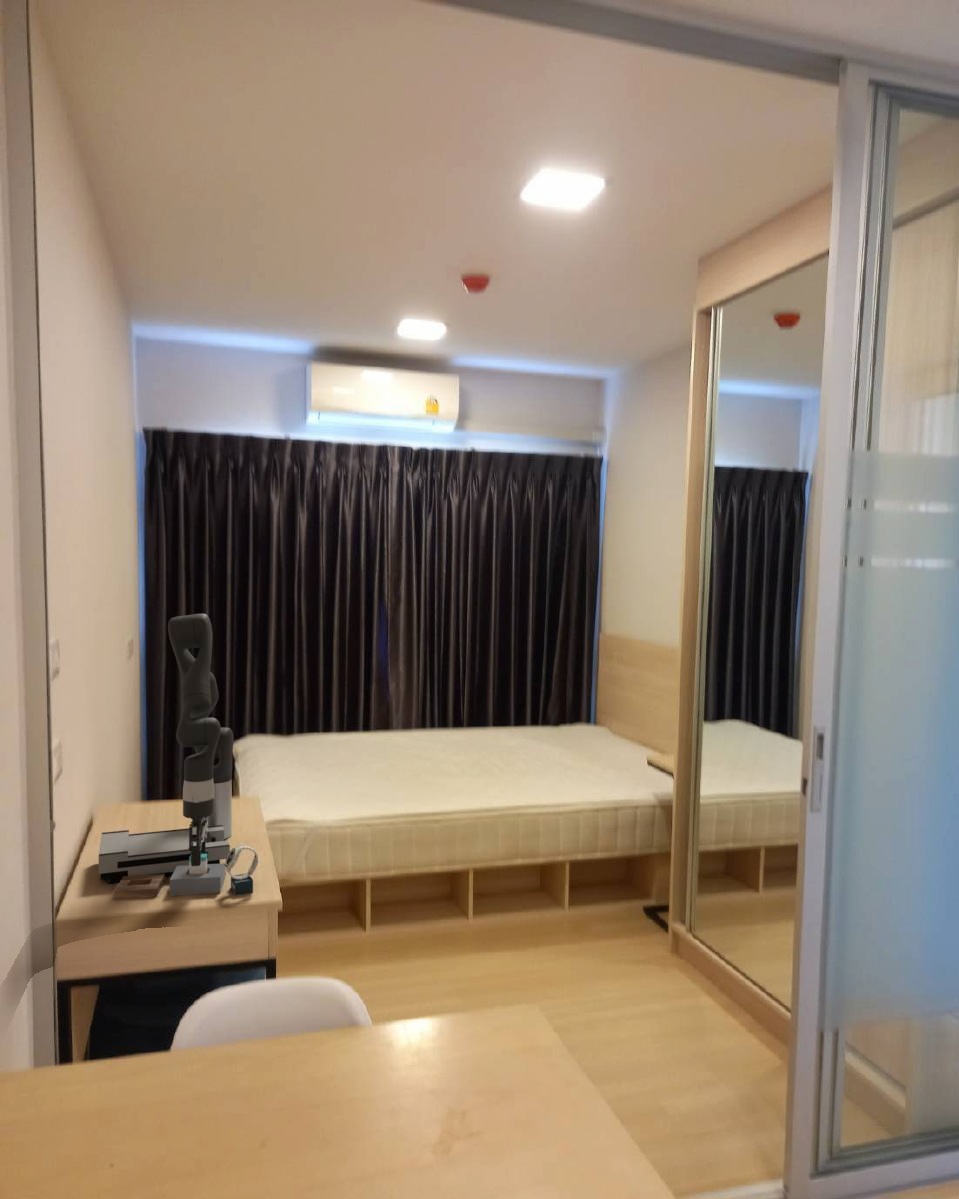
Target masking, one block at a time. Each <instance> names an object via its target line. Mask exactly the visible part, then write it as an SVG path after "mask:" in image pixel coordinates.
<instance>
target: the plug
mask: <svg viewBox="0 0 959 1199" xmlns="http://www.w3.org/2000/svg"><path fill="white" fill-rule="evenodd" d="M190 874H207V854H201V864H200V866H192V865H191V855H190V857H189V875H190Z"/></svg>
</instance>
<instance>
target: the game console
mask: <svg viewBox="0 0 959 1199" xmlns="http://www.w3.org/2000/svg"><path fill="white" fill-rule="evenodd" d="M207 828H208V833H207V834H206V836H207V838H206V852H205V854H207V864H221V860H226V858H227V856H228V854H229V852H230V851H231V845H230V842H229V840H225V839H224V828H223V825H217V826H207ZM129 832H130V831H129V829H127V830H117V831H116V830H115V831H106V832H101V837H100V844H99V851H98V875H100V876H99V877H100V878H99V880H100V881H102V880H103V881H104V880H108V886H109V885H110V886H111V885H118V884H119V882H120V881H121V879H122V878H123V877H124V876H141V875H159V874H165V879H167V878H168V879H169V878H171V876H172V874H173V873H174V871H175V869H176V867H177V866H185V865H189V857H190V855H191V851H189V827H188V828H179V829H177V828H176V829H168V830H160V831H159V830H157V831H149V832H141V833H140V832H139V833H129ZM193 846H196V842H195V843H193Z"/></svg>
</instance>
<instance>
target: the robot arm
mask: <svg viewBox="0 0 959 1199" xmlns="http://www.w3.org/2000/svg"><path fill="white" fill-rule="evenodd" d="M167 630H168V637H169V640H170V644H171V647H172V650H173V653H174V656H175V659H176V663H177V666H178V670H179V675H180V680H181V685H182V686H181V696H182V697H181V698H182V700H181V701H182V707H181V708H182V710H181V715H180V719H179V721H178V726H177V729H176V733H175V736H176V740H177V742H178V744H179V745H180V746H182V747H184V748H190V747H194V751H195V753H194V754H191V755H188V756H187V757H185V759H184V762H183V786H182V816H183V817H185V818H187V819H190V820H192V821H190V824H189V827H188V828H189V851H191V865H192V866H200V864H201V854H205V852H206V838H207V836H206V834H207V833H208V828H207V826H217V825H223V828H224V840H226V839H228V838H230V837H231V836H232V830H233V829H232V826H233V824H232V821H233V819H232V816H233V814H232V812H233V811H232V810H233V809H232V803H233V802H232V801H233V800H232V797H233V796H232V795H233V793H232V786H233V785H232V782H233V781H232V780H233V778H232V777H233V775H232V774H233V755H234V754H233V753H234V751H233V750H234V733H233V730H232V729H231V727H225V726H224V727H221V724H220V721H219V720H218V719H217V718H215V717H209V716H210V714H211V713H212V711H213V710H214V709H215V707H216V705H217V703H218V701H219V696H220V695H219V690H218V685H217V681H216V677H215V675H214V673H212V671H211V667H212V654H213V651H212V650H213V628H212V622H211V620H210V617H209V616H208V615H207V613H195V614H188V615H179V616H178V615H177V616H175V617H171V618H170V619H169V621H168V625H167ZM196 648H197V649H199V650H198V654H197V656H196V657H194V656H193V655H192V654H191V652H190V651H189V649H196ZM215 759H219V762H218V763H217V764H216V765H214V760H215ZM195 842H196V846H193V843H195Z"/></svg>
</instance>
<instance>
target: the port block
mask: <svg viewBox="0 0 959 1199" xmlns="http://www.w3.org/2000/svg"><path fill="white" fill-rule="evenodd" d="M169 878H170V879H169V896H170V897H173V896H189V895H207V894H221V893H222V888H223V886H224V883H225V879H226V867H225V862H223V863H220V864H207V874H190V875H189V865H185V866H177V867H176V869H175V871H174V873H173V874H172V876H171V877H169Z"/></svg>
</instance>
